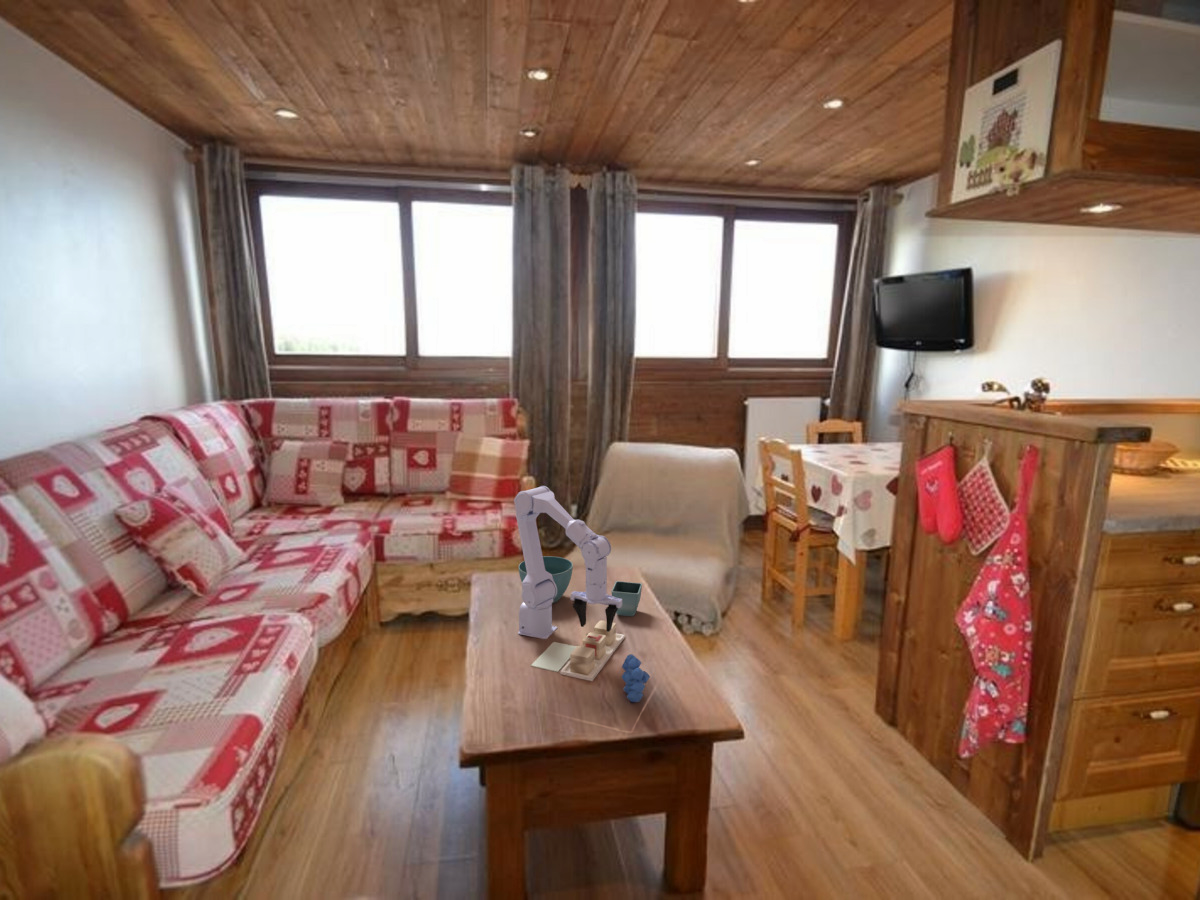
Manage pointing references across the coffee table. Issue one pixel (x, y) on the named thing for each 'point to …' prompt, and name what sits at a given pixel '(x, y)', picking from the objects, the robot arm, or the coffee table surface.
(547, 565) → the teal round bowl
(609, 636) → the plain cube far
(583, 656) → the plain cube near
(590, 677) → the sorting tray
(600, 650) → the lettered cube
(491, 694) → the coffee table surface
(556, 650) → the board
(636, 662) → the grapes
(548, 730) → the coffee table surface
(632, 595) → the flower pot
